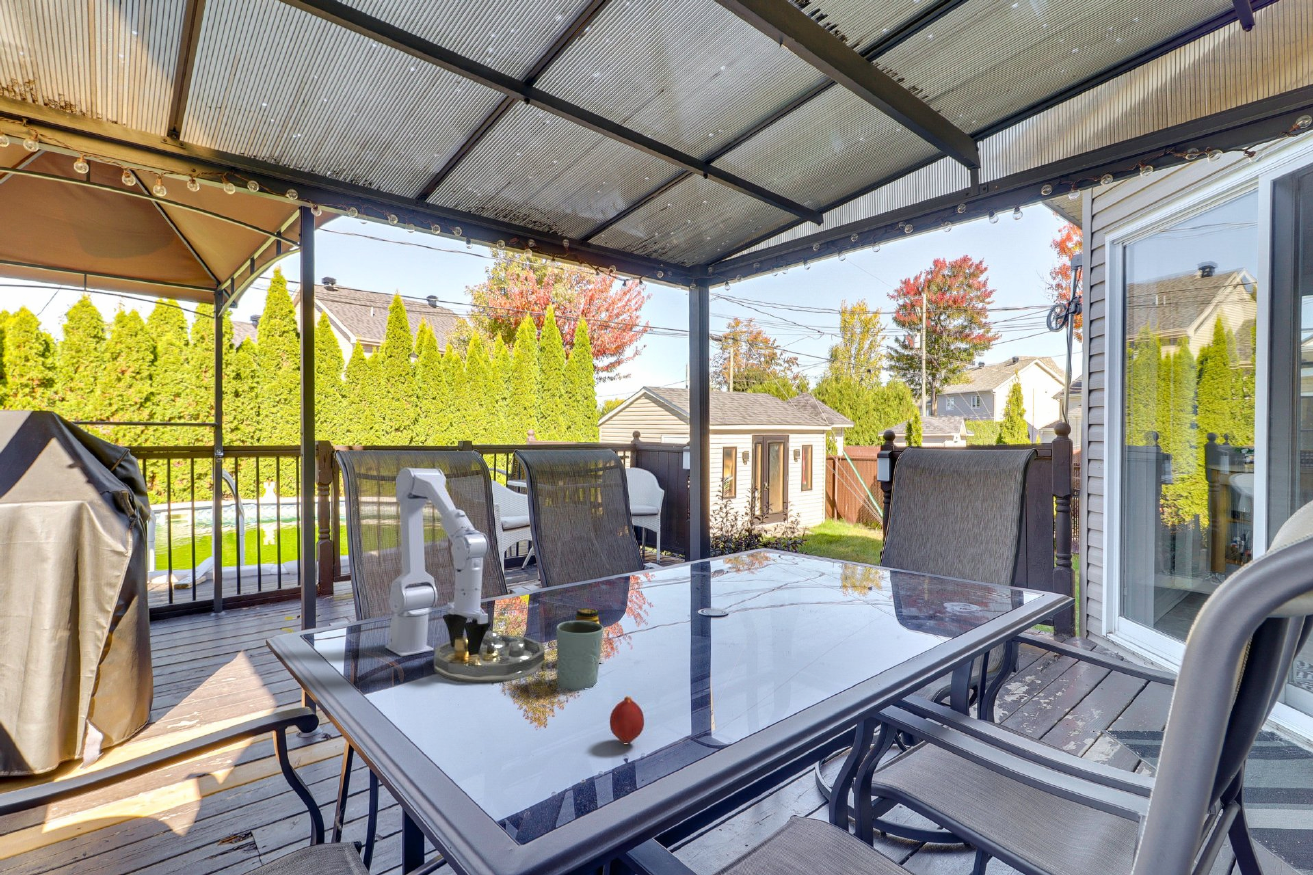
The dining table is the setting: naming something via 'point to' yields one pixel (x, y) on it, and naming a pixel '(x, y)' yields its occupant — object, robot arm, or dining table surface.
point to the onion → (627, 720)
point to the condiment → (587, 615)
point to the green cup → (578, 654)
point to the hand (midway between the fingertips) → (464, 650)
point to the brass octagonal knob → (463, 653)
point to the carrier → (493, 660)
